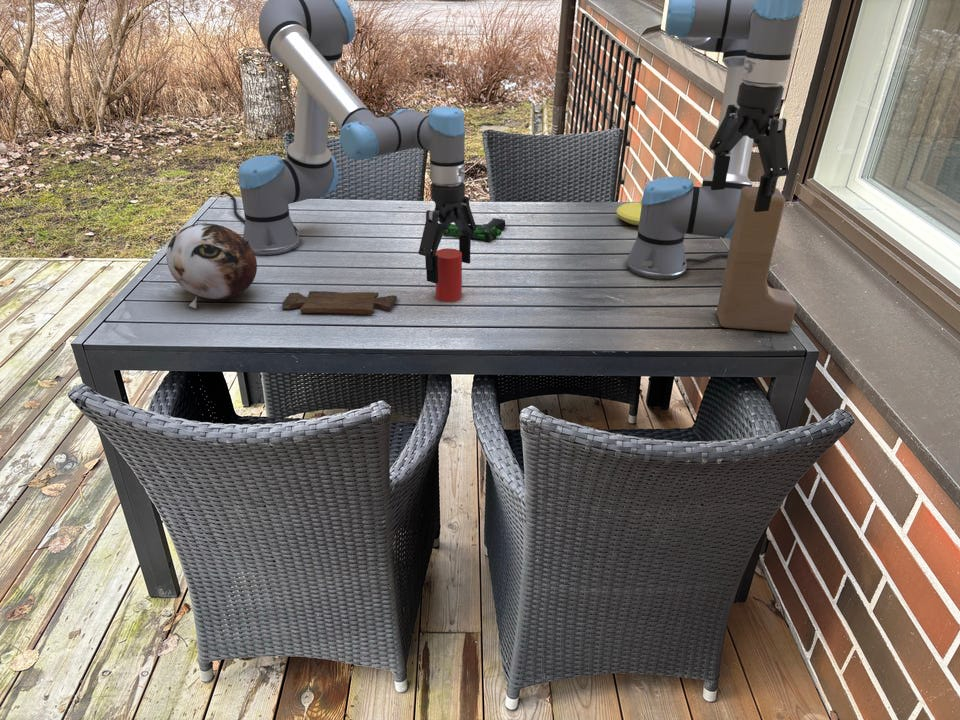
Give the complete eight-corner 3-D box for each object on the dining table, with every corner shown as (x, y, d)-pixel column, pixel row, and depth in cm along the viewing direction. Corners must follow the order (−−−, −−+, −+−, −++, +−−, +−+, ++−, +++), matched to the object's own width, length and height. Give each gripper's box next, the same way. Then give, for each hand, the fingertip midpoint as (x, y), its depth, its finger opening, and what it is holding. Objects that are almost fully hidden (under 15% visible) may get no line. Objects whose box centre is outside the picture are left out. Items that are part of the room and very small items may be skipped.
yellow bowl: (629, 210, 226) (631, 188, 223) (676, 220, 218) (680, 198, 215) (606, 223, 215) (608, 200, 212) (655, 235, 207) (658, 211, 204)
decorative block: (790, 333, 157) (826, 200, 141) (720, 328, 158) (748, 196, 143) (782, 318, 163) (816, 189, 148) (715, 313, 165) (741, 185, 149)
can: (467, 296, 171) (467, 253, 165) (448, 304, 167) (448, 260, 161) (448, 288, 175) (448, 246, 169) (430, 296, 171) (429, 253, 165)
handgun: (511, 219, 210) (493, 234, 198) (511, 228, 211) (492, 244, 199) (461, 212, 215) (440, 226, 203) (461, 221, 217) (440, 236, 204)
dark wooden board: (392, 317, 161) (397, 298, 170) (391, 310, 160) (397, 291, 169) (278, 313, 161) (289, 294, 170) (277, 306, 161) (289, 287, 169)
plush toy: (130, 285, 161) (164, 203, 163) (192, 308, 177) (221, 233, 178) (195, 307, 151) (229, 220, 152) (254, 330, 166) (285, 250, 168)
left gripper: (428, 199, 146) (431, 294, 157) (491, 171, 164) (490, 257, 175) (399, 193, 149) (404, 286, 160) (464, 166, 168) (464, 251, 178)
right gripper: (703, 72, 136) (685, 182, 147) (792, 97, 116) (764, 223, 127) (736, 71, 138) (716, 179, 149) (829, 95, 118) (798, 218, 129)
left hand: (449, 271), depth 167 cm, fingers open, 13 cm apart
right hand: (738, 199), depth 138 cm, fingers open, 13 cm apart
